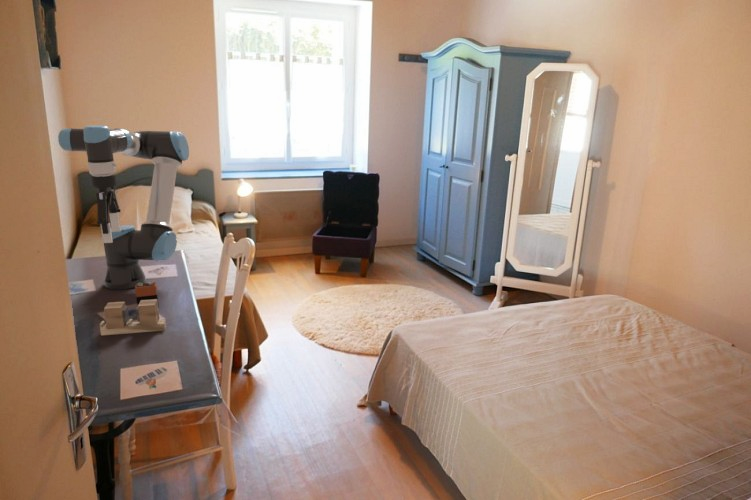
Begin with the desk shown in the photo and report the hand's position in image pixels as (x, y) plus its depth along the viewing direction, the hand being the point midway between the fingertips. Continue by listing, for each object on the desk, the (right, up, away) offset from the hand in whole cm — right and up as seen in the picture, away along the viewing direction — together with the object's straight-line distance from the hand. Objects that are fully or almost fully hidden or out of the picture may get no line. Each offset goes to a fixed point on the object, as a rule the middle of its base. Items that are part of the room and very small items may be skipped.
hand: (112, 236), depth 176 cm
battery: (+8, -26, +10) cm, 29 cm away
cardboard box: (+6, -29, -10) cm, 31 cm away
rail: (+11, -31, -8) cm, 34 cm away
